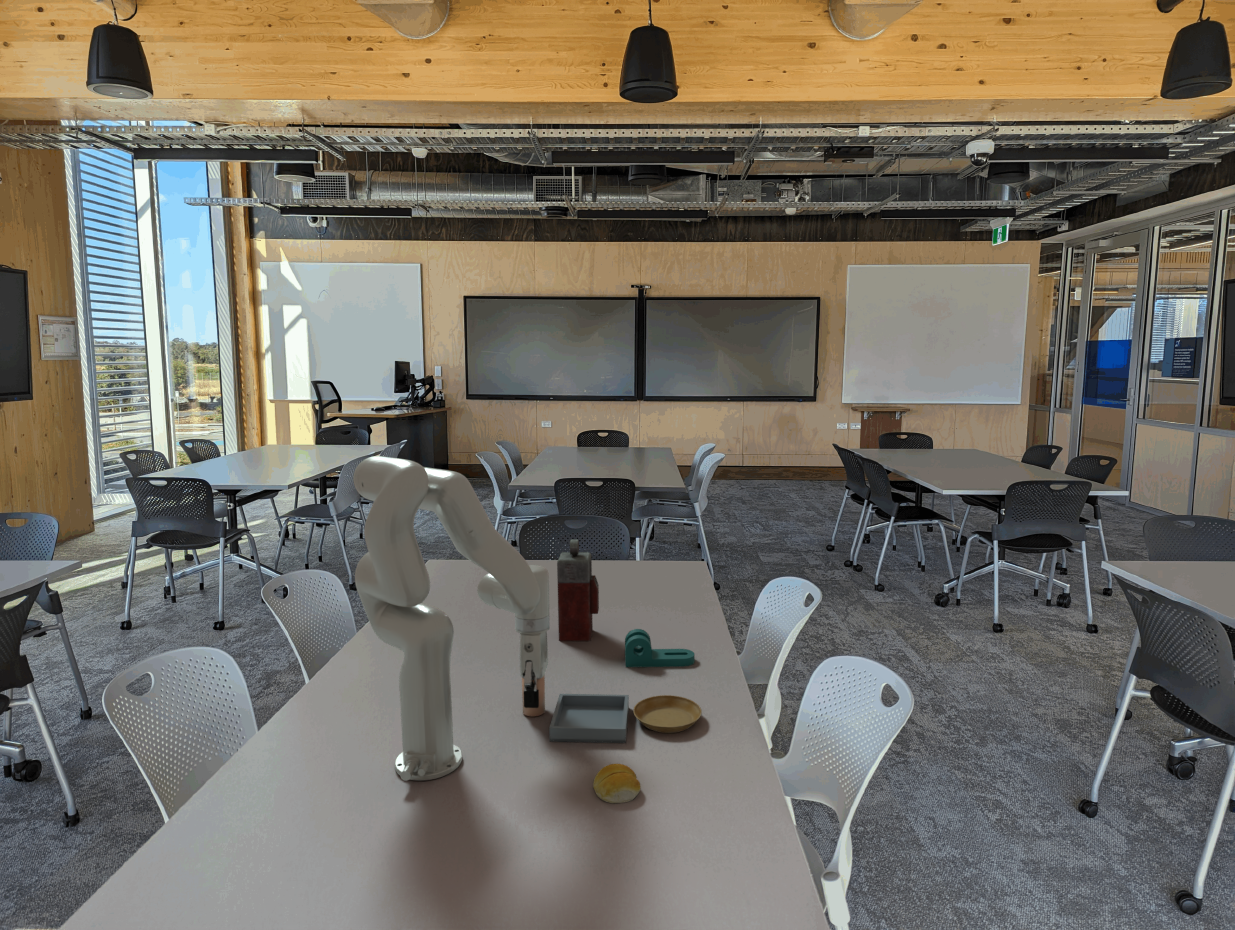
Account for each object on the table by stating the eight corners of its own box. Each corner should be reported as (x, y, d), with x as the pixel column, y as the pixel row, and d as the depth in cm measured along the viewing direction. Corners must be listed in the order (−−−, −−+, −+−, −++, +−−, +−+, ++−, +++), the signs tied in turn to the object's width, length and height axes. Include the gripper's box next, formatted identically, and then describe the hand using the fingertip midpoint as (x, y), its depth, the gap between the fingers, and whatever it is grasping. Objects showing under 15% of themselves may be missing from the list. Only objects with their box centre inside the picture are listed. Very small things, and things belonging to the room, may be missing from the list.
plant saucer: (644, 742, 148) (644, 730, 147) (625, 710, 162) (625, 699, 162) (712, 733, 152) (712, 721, 151) (687, 702, 166) (687, 691, 165)
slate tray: (625, 742, 147) (625, 729, 147) (549, 741, 148) (549, 727, 148) (628, 707, 163) (628, 694, 162) (559, 706, 164) (559, 693, 163)
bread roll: (632, 773, 137) (631, 754, 136) (644, 801, 128) (644, 780, 127) (589, 779, 135) (588, 759, 134) (598, 807, 126) (598, 786, 125)
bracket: (625, 667, 185) (625, 638, 184) (625, 657, 192) (624, 628, 191) (695, 667, 185) (696, 637, 184) (692, 656, 192) (693, 628, 191)
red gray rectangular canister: (598, 641, 203) (597, 543, 199) (558, 640, 203) (556, 543, 200) (600, 629, 212) (599, 536, 208) (562, 629, 212) (560, 536, 208)
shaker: (543, 716, 158) (542, 672, 157) (520, 716, 159) (519, 672, 157) (547, 706, 163) (546, 663, 162) (524, 705, 164) (523, 663, 162)
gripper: (543, 636, 150) (544, 719, 152) (554, 610, 167) (555, 685, 169) (507, 635, 150) (509, 719, 152) (522, 609, 167) (524, 684, 169)
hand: (533, 700), depth 161 cm, fingers closed on shaker, 5 cm apart
